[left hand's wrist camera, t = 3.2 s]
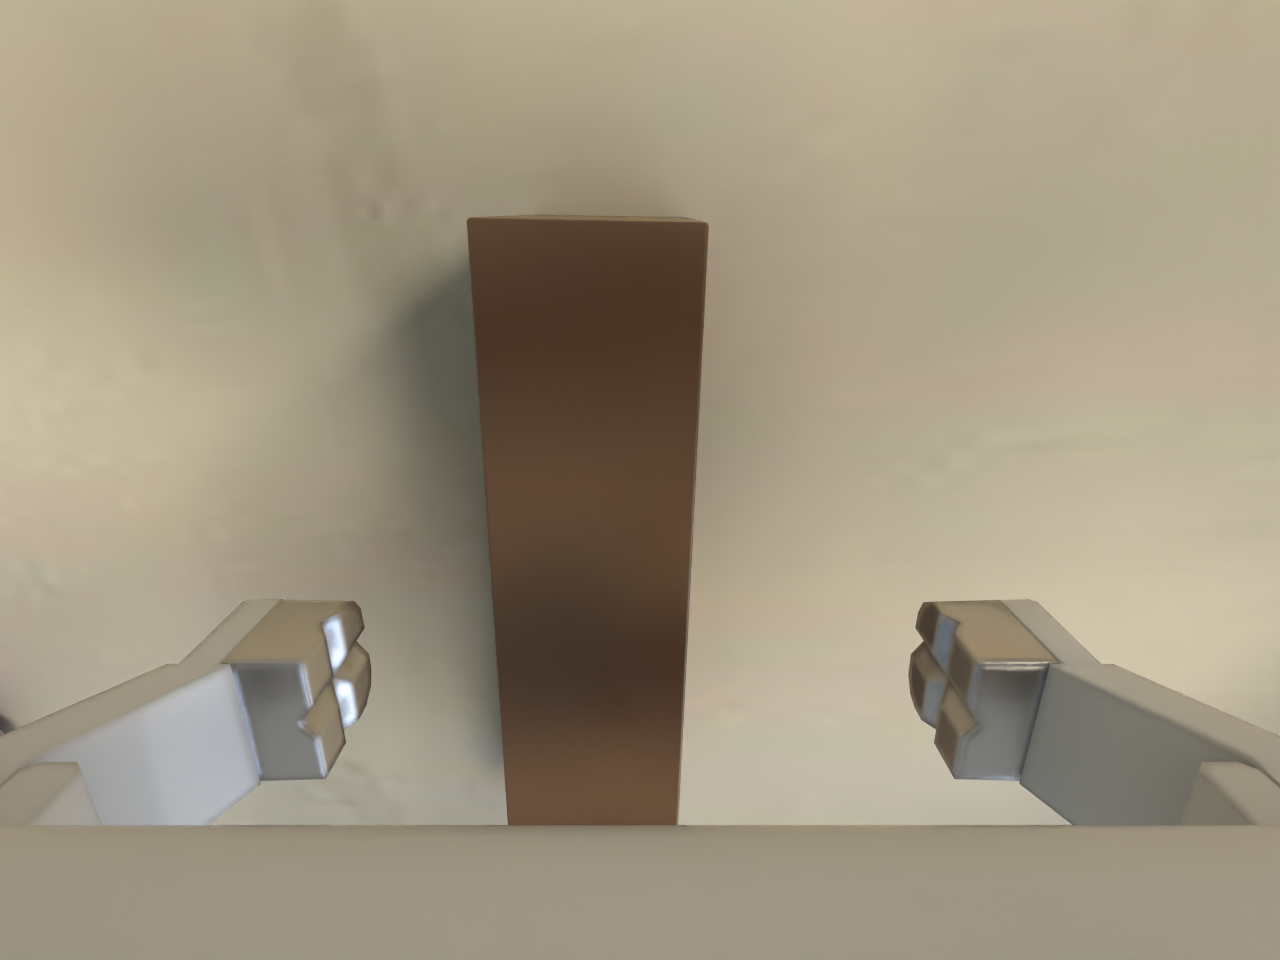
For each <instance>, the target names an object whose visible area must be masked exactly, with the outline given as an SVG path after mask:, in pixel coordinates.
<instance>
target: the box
mask: <svg viewBox="0 0 1280 960" xmlns="http://www.w3.org/2000/svg"><path fill="white" fill-rule="evenodd" d="M467 230H468V245H469V260H470V274H471V289H472V304H473V318H474V333H475V348H476V362H477V377H478V392H479V406H480V421H481V436H482V450H483V465H484V480H485V494H486V509H487V524H488V538H489V553H490V568H491V583H492V597H493V612H494V627H495V641H496V656H497V671H498V685H499V700H500V715H501V729H502V744H503V759H504V773H505V788H506V803H507V817H508V825H678V816H679V796H680V777H681V757H682V738H683V718H684V699H685V679H686V660H687V640H688V621H689V601H690V581H691V562H692V542H693V523H694V503H695V484H696V464H697V445H698V425H699V406H700V386H701V367H702V347H703V328H704V308H705V289H706V269H707V250H708V230H709V225H708V223H706V222H703V221H698V220H694V219H690V218H672V217H622V216H571V215H518V216H493V217H470V218H468V219H467Z"/></svg>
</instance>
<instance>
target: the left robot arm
mask: <svg viewBox="0 0 1280 960" xmlns="http://www.w3.org/2000/svg"><path fill="white" fill-rule="evenodd" d="M363 629H364V623H363V618H362V613H361V608H360V607H359V606H358V605H357V604H356V603H355V602H354V601H321V600H283V599H270V600H249V601H243V602H242V603H241V604H240V605H239V606H238V607H237V608H236V609H235V610H234V611H233V612H232V613H231V614H230V615H229V616H228V617H227V618H226V619H225V620H224V621H223V622H222V623H221V624H220V625H219V626H218V627H216V628H215V629H214V630H213V631H212V632H211V633H210V634H209V635H208V636H207V637H206V638H205V639H204V640H203V641H202V642H201V643H200V644H199V645H198V646H197V647H196V648H195V649H194V650H193V651H192V652H191V653H189V654H188V655H187V656H186V657H185V658H184V659H183V660H182V661H181V662H180V663H179V664H166V665H164V666H161V667H159V668H157V669H154V670H152V671H150V672H148V673H145V674H143V675H141V676H138V677H136V678H134V679H131V680H129V681H127V682H124V683H122V684H120V685H117V686H115V687H113V688H111V689H108V690H106V691H104V692H101V693H99V694H97V695H94V696H92V697H90V698H87V699H85V700H83V701H80V702H78V703H76V704H73V705H71V706H69V707H67V708H64V709H62V710H60V711H57V712H55V713H53V714H50V715H48V716H46V717H43V718H41V719H39V720H36V721H34V722H32V723H30V724H27V725H25V726H23V727H20V728H18V729H16V730H13V731H11V732H9V733H6V734H4V735H2V736H0V960H1280V736H1278V735H1275V734H1273V733H1271V732H1269V731H1266V730H1264V729H1262V728H1259V727H1257V726H1255V725H1252V724H1250V723H1248V722H1245V721H1243V720H1241V719H1239V718H1236V717H1234V716H1232V715H1229V714H1227V713H1225V712H1222V711H1220V710H1218V709H1215V708H1213V707H1211V706H1209V705H1206V704H1204V703H1202V702H1199V701H1197V700H1195V699H1192V698H1190V697H1188V696H1185V695H1183V694H1181V693H1179V692H1176V691H1174V690H1172V689H1169V688H1167V687H1165V686H1162V685H1160V684H1158V683H1155V682H1153V681H1151V680H1149V679H1146V678H1144V677H1142V676H1139V675H1137V674H1135V673H1132V672H1130V671H1128V670H1126V669H1123V668H1121V667H1119V666H1116V665H1114V664H1101V663H1100V662H1099V661H1098V660H1097V659H1096V658H1095V657H1094V656H1093V655H1092V654H1091V653H1090V652H1089V651H1087V650H1086V649H1085V648H1084V647H1083V646H1082V645H1081V644H1080V643H1079V642H1078V641H1077V640H1076V639H1075V638H1074V637H1073V636H1072V635H1071V634H1070V633H1069V632H1068V631H1067V630H1066V629H1065V628H1064V627H1063V626H1062V625H1061V624H1060V623H1058V622H1057V621H1056V620H1055V619H1054V618H1053V617H1052V616H1051V615H1050V614H1049V613H1048V612H1047V611H1046V610H1045V609H1044V608H1043V607H1042V606H1041V605H1040V604H1039V603H1038V602H1035V601H1032V600H1029V599H1016V600H984V601H943V602H924V603H923V604H922V606H921V608H920V610H919V612H918V617H917V622H916V629H917V631H918V632H919V634H920V636H921V637H922V639H923V640H924V641H923V642H922V643H921V645H920V646H919V647H918V648H917V649H916V650H915V651H914V652H913V653H912V654H911V659H910V666H909V685H910V694H911V697H912V700H913V703H914V707H915V709H916V711H917V712H918V714H919V716H920V718H921V720H922V721H924V722H926V723H927V724H929V725H930V726H932V727H933V728H935V729H936V735H935V740H934V743H935V745H936V747H937V749H938V750H939V752H940V754H941V756H942V758H943V759H944V761H945V763H946V765H947V766H948V768H949V770H950V772H951V773H952V775H953V777H954V779H975V780H1011V781H1020V783H1019V784H1021V785H1022V786H1023V787H1024V788H1026V789H1027V790H1028V791H1030V792H1031V793H1032V794H1033V795H1035V796H1036V797H1037V798H1039V799H1040V800H1041V801H1043V802H1044V803H1045V804H1046V805H1048V806H1049V807H1050V808H1052V809H1053V810H1054V811H1055V812H1057V813H1058V814H1059V815H1061V816H1062V817H1063V818H1064V819H1066V820H1067V821H1068V822H1070V823H1071V824H1072V825H208V824H209V823H211V822H212V821H213V820H214V819H216V818H217V817H218V816H220V815H221V814H222V813H224V812H225V811H226V810H227V809H229V808H230V807H231V806H233V805H234V804H235V803H236V802H238V801H239V800H240V799H242V798H243V797H244V796H245V795H247V794H248V793H249V792H251V791H252V790H253V789H255V788H256V787H257V786H258V785H260V781H269V780H304V779H326V777H327V775H328V773H329V772H330V770H331V768H332V766H333V765H334V763H335V761H336V759H337V758H338V756H339V754H340V752H341V750H342V749H343V747H344V745H345V743H346V740H345V735H344V729H345V728H347V727H348V726H350V725H351V724H353V723H354V722H356V721H358V720H359V718H360V716H361V714H362V712H363V710H364V709H365V707H366V704H367V700H368V696H369V691H370V687H371V665H370V658H369V654H368V653H367V652H366V651H365V650H364V649H363V648H362V647H361V646H360V645H359V644H358V642H357V641H356V640H357V639H358V637H359V636H360V634H361V632H362V631H363Z"/></svg>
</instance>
